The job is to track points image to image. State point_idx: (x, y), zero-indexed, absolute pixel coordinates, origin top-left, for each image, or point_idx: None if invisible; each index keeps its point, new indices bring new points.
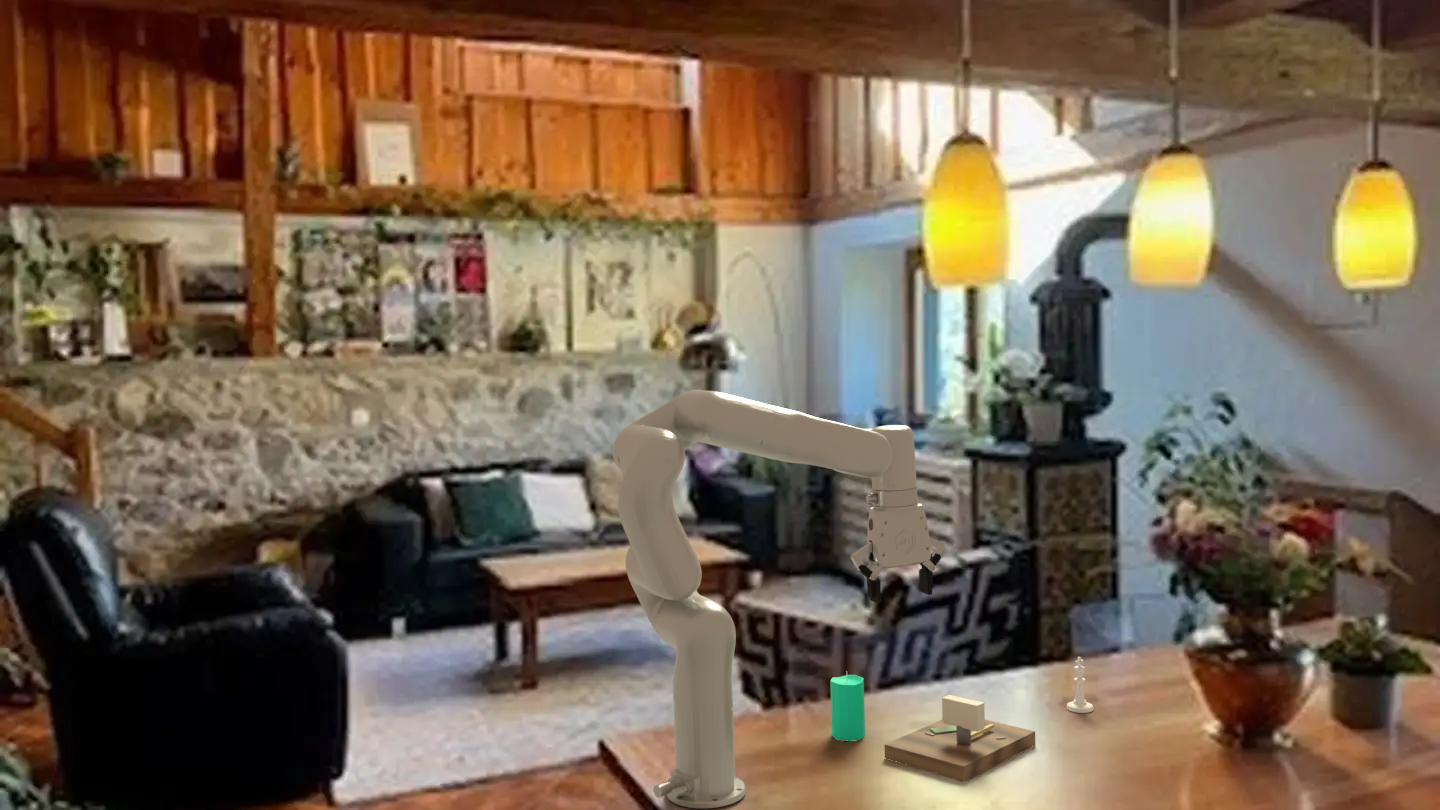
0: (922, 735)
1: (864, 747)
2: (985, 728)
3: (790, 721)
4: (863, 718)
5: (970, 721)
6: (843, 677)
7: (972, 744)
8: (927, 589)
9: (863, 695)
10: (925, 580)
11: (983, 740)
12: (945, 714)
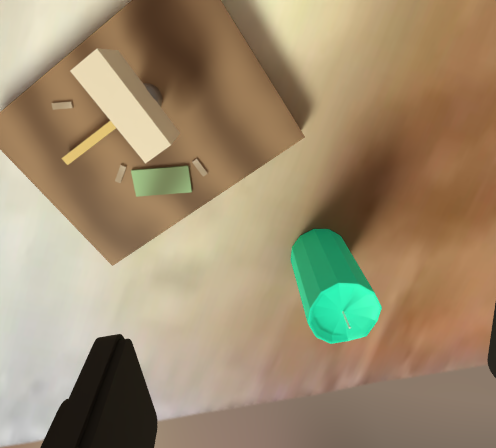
0: (215, 166)
1: (312, 197)
2: (84, 141)
3: (379, 335)
4: (301, 257)
5: (125, 67)
6: (339, 336)
7: None
8: (122, 365)
9: (306, 283)
10: (111, 445)
11: None
12: (171, 129)
